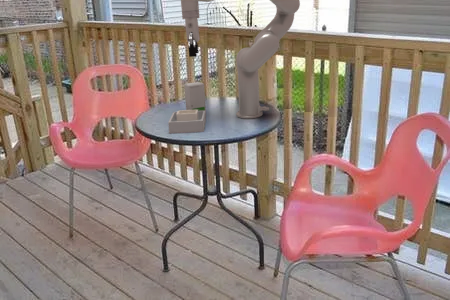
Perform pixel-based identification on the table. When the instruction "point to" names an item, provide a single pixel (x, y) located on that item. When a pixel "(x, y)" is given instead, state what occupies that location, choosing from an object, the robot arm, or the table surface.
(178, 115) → the small crate
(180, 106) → the table surface
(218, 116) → the table surface
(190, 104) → the skincare box
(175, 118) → the base crate
